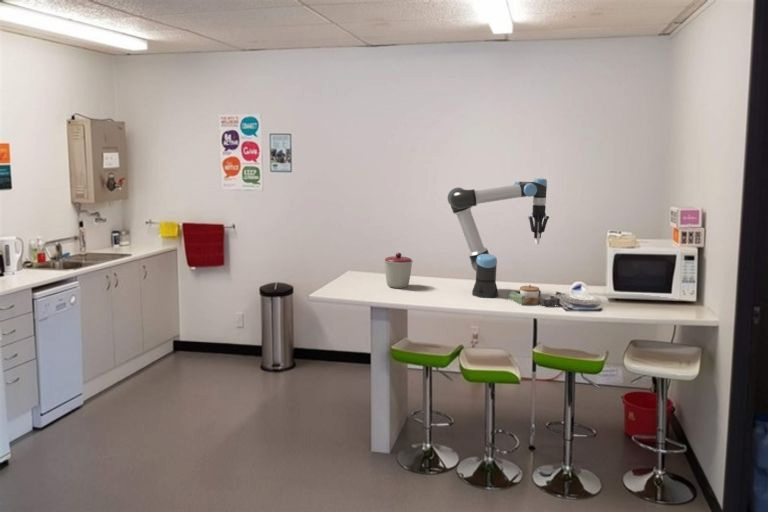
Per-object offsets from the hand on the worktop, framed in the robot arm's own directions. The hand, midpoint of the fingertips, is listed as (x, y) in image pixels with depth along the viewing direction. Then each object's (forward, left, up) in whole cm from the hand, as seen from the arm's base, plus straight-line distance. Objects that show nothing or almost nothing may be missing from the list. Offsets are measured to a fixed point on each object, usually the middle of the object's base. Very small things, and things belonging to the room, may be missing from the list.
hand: (537, 243), depth 405 cm
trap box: (-15, -24, -29) cm, 41 cm away
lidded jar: (-16, -24, -29) cm, 41 cm away
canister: (-79, +27, -29) cm, 88 cm away
